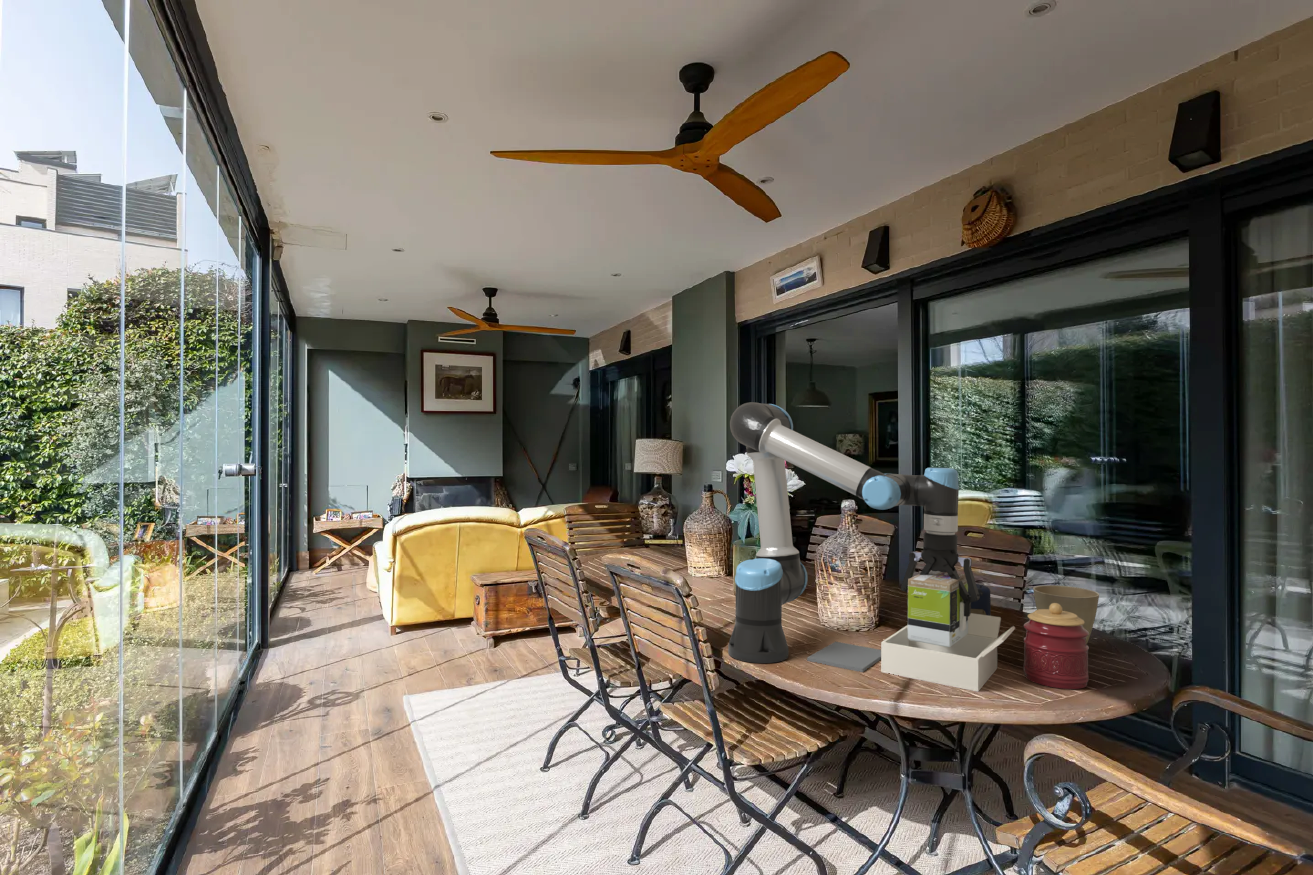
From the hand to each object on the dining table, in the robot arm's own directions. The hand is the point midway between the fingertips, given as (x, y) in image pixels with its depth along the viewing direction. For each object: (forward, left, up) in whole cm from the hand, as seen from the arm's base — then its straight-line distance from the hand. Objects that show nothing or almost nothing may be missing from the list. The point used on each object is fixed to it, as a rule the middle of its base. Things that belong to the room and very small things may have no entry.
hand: (938, 625), depth 167 cm
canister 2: (+23, +9, -11) cm, 27 cm away
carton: (+3, +2, -11) cm, 11 cm away
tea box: (0, 0, -3) cm, 3 cm away
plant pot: (+22, +36, -11) cm, 44 cm away
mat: (-21, -4, -11) cm, 24 cm away
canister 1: (+2, +22, -11) cm, 25 cm away
